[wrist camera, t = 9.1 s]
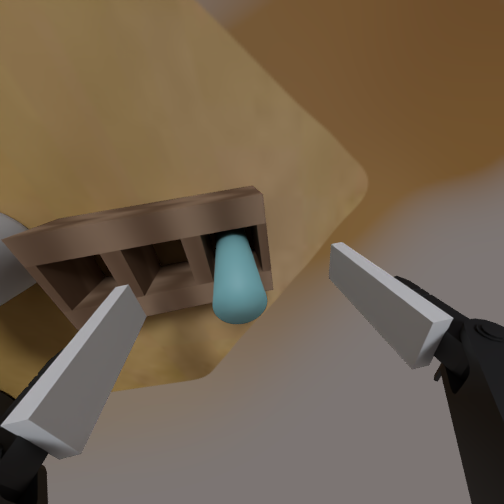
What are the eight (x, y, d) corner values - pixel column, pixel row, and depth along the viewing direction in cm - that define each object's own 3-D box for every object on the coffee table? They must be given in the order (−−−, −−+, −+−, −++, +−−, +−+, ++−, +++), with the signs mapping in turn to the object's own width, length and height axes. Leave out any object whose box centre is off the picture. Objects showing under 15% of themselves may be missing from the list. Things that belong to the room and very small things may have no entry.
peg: (219, 247, 20) (217, 328, 11) (214, 221, 19) (207, 286, 9) (246, 244, 21) (268, 318, 11) (243, 218, 19) (265, 277, 10)
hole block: (108, 294, 21) (78, 330, 16) (59, 218, 17) (0, 239, 12) (262, 263, 22) (273, 289, 18) (252, 185, 18) (262, 194, 14)
